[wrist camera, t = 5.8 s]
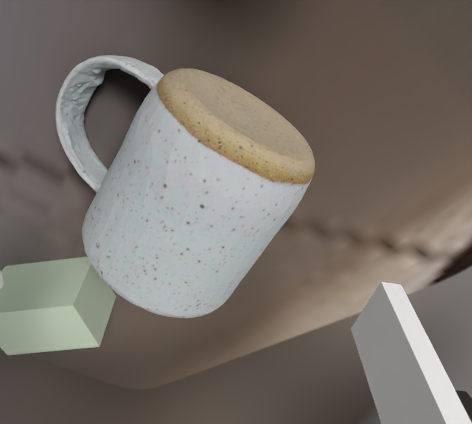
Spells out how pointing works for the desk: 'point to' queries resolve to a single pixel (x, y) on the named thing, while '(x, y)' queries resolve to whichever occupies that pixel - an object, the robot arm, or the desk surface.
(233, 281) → the ceramic mug
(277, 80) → the desk surface
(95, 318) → the sage green block
